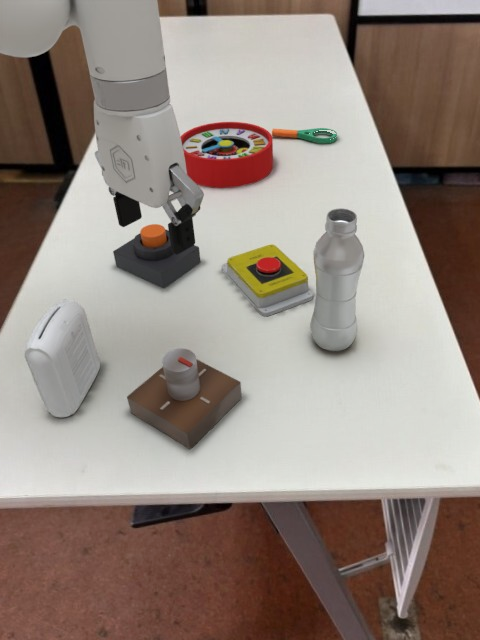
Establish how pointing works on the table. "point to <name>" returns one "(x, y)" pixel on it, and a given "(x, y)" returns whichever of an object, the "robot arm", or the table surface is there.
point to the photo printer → (62, 357)
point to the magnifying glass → (306, 134)
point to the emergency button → (268, 279)
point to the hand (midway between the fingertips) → (156, 235)
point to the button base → (155, 261)
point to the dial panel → (185, 404)
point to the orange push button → (153, 235)
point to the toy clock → (227, 154)
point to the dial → (181, 374)
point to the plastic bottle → (337, 281)
